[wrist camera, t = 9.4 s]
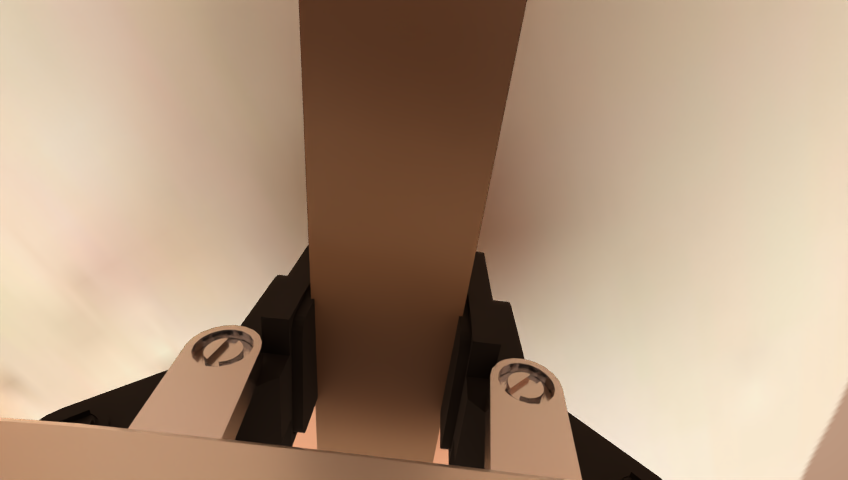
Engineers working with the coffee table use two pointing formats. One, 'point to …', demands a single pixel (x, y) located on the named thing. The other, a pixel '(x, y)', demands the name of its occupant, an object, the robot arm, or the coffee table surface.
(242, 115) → the coffee table surface
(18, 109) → the coffee table surface
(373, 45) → the stick
